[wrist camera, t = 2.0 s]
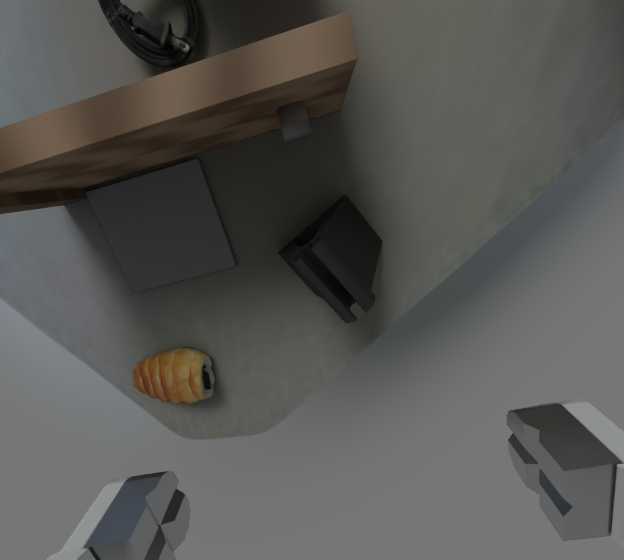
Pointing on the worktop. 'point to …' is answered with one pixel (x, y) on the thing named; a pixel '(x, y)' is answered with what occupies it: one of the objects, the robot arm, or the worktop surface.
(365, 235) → the phone stand
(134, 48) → the milk frother
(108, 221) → the door mat
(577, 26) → the worktop surface
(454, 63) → the worktop surface
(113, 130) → the door panel
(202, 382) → the pastry
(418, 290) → the worktop surface
